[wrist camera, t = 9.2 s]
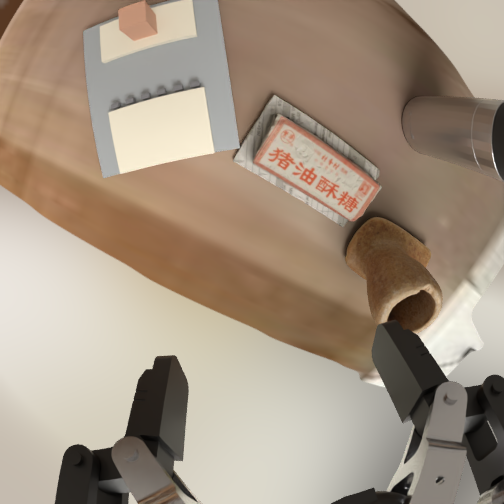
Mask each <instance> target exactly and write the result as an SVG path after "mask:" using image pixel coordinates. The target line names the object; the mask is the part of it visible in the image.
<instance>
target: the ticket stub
mask: <svg viewBox="0 0 504 504" xmlns="http://www.w3.org/2000/svg"><path fill="white" fill-rule="evenodd" d="M118 14H119V19H117V20H114V21H112V22H109V23H107V24H104V25H102V26H100V47H101V60H102V62H103V63H107V62H110V61H112V60H115V59H118V58H121V57H124V56H126V55H129V54H132V53H135V52H139V51H142V50H145V49H148V48H152V47H155V46H159V45H163V44H167V43H171V42H175V41H179V40H184V39H188V38H193V37H197V30H196V22H195V15H194V7H193V0H181V1H177V2H173V3H168V4H164V5H161V6H157V7H153V8H150V6H149V5H148V4H147V2H146V1H145V0H144V1H141V2H138V3H135V4H132V5H129V6H126V7H123V8H120V9H118Z"/></svg>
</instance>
